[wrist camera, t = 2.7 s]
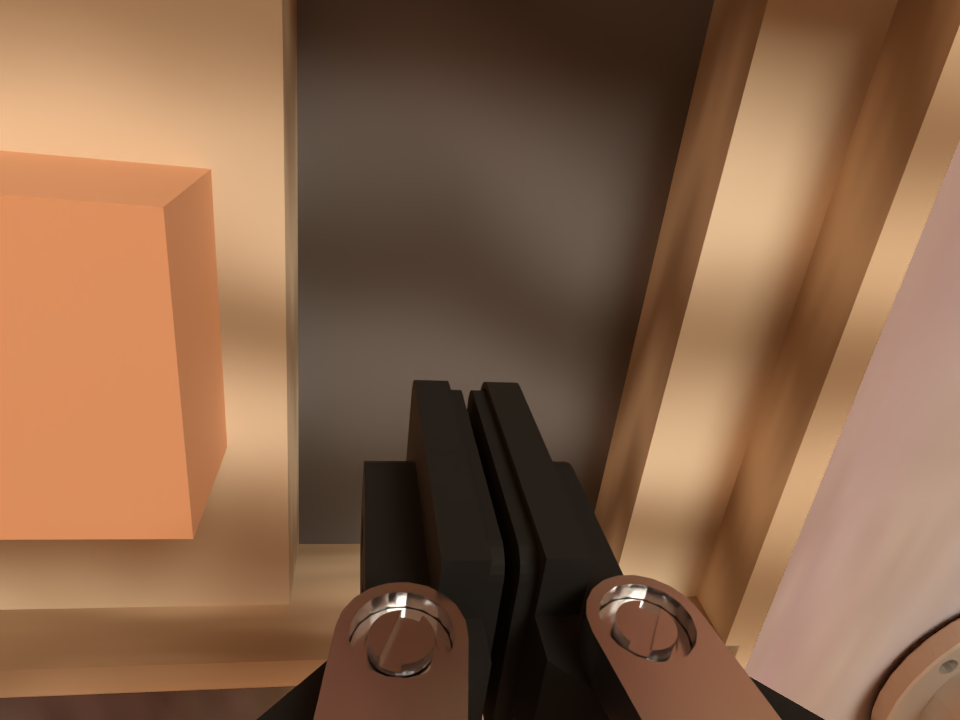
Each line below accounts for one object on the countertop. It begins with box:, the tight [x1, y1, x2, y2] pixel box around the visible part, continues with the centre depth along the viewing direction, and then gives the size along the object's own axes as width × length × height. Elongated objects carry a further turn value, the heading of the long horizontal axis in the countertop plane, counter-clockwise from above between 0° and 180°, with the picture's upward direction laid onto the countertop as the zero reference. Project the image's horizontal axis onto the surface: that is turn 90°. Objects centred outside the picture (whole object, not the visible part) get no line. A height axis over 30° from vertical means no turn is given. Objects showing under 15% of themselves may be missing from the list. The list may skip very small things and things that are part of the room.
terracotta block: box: [0, 150, 227, 540], centre depth 13 cm, size 7×7×4 cm
